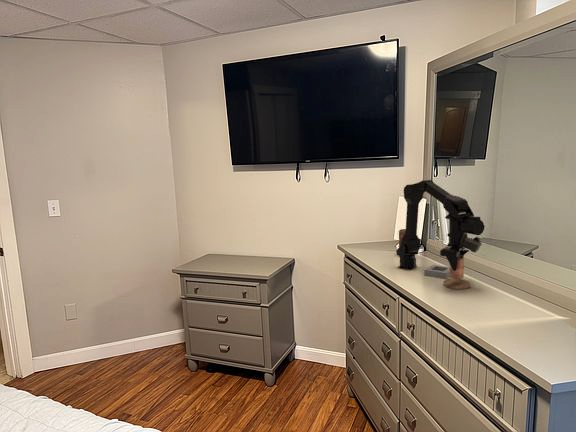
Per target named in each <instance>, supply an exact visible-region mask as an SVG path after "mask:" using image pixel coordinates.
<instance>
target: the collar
mask: <svg viewBox="0 0 576 432" xmlns="http://www.w3.org/2000/svg"><path fill="white" fill-rule="evenodd" d="M423 273H424V276H426V277H431V278H432V277H433V278H436V279H437V278H439V279H443V280H447V279H449V278H450V266H445V265H440V264H439V265H438V264H432V265H430V266H428V267H426V268H425V269H424V270H423Z"/></svg>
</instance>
